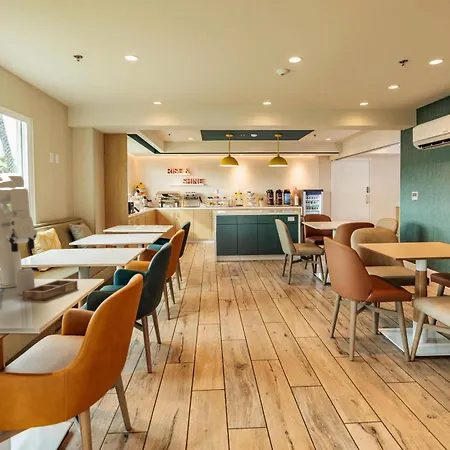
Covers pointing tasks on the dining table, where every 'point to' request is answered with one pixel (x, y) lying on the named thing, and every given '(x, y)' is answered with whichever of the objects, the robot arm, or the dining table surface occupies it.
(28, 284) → the can
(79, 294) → the dining table surface
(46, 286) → the tray
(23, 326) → the dining table surface
